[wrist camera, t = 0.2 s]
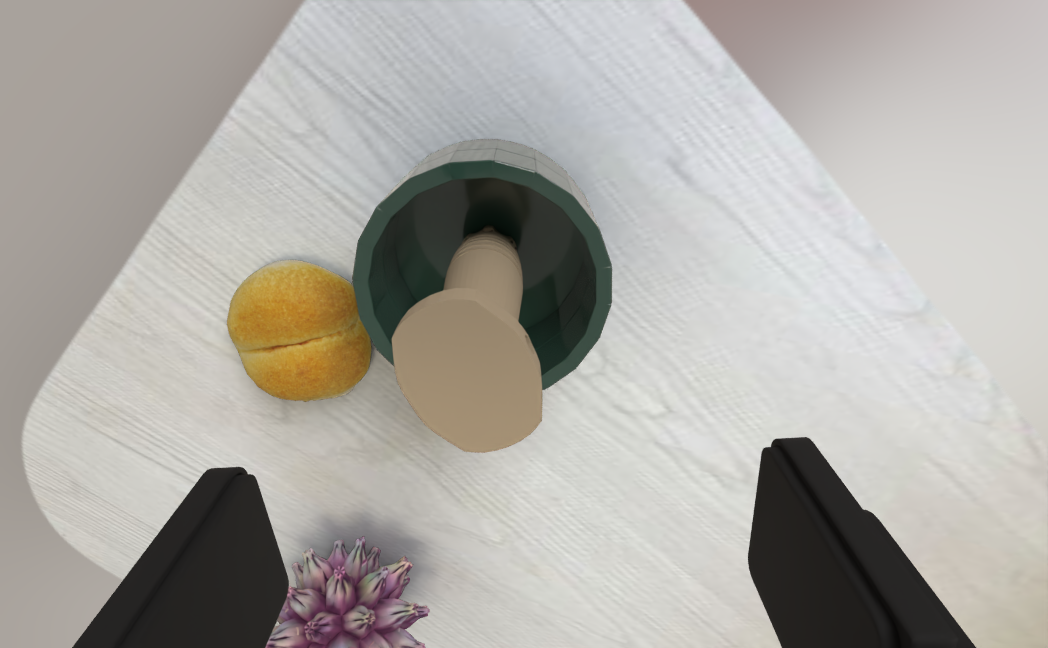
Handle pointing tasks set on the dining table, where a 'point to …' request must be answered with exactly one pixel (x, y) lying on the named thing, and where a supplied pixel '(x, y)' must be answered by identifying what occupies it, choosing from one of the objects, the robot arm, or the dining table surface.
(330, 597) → the flower
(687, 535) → the dining table surface
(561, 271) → the pot
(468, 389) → the handle
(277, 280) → the bread roll
